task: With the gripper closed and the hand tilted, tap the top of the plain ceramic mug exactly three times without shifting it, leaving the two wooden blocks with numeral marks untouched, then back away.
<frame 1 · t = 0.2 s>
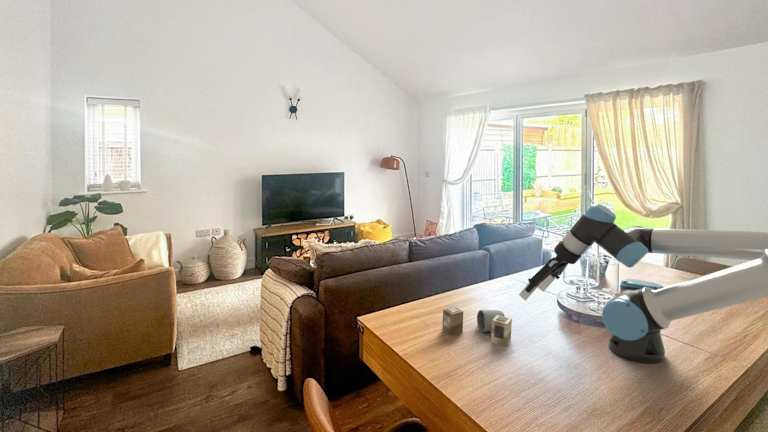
hand: (531, 293, 134), 16 cm above the table, tool tilted 35°, fingers open, 13 cm apart
walnut numeral block: (452, 331, 140), on the table
ceramic mug: (488, 329, 143), on the table
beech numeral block: (500, 341, 133), on the table
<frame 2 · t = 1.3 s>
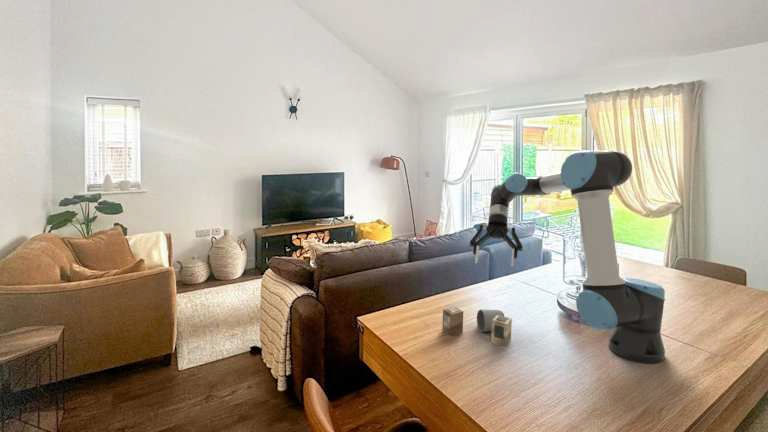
hand: (493, 263, 153), 20 cm above the table, tool tilted 45°, fingers open, 13 cm apart
nothing on the table moved.
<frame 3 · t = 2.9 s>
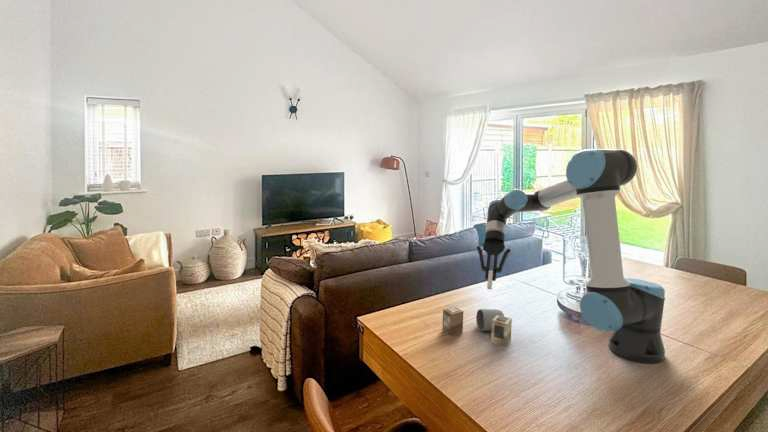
hand: (489, 287, 146), 14 cm above the table, tool tilted 45°, fingers closed
nothing on the table moved.
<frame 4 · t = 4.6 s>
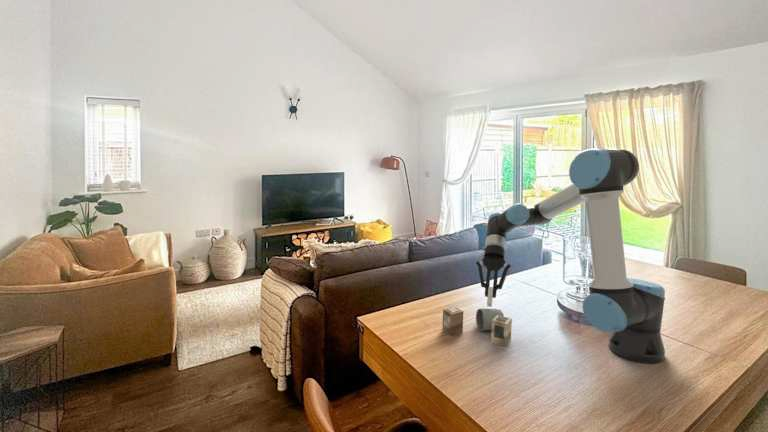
hand: (489, 305, 142), 9 cm above the table, tool tilted 45°, fingers closed
ceramic mug: (487, 327, 144), on the table, touching gripper
everything else where it was.
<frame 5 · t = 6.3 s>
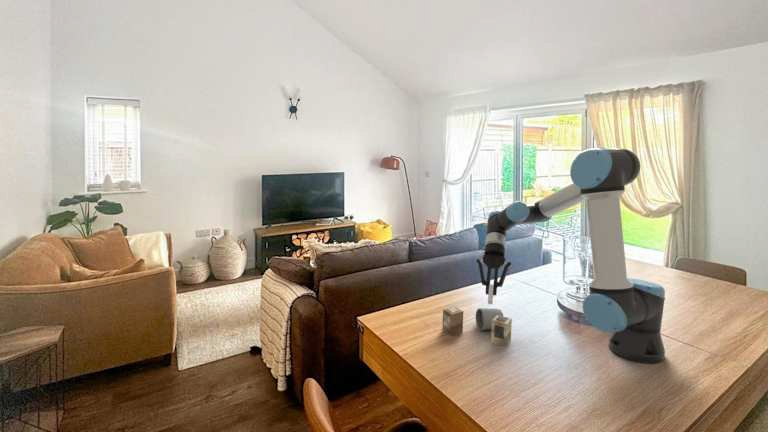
hand: (490, 302, 141), 10 cm above the table, tool tilted 45°, fingers closed
ceramic mug: (486, 327, 144), on the table
everything else where it was.
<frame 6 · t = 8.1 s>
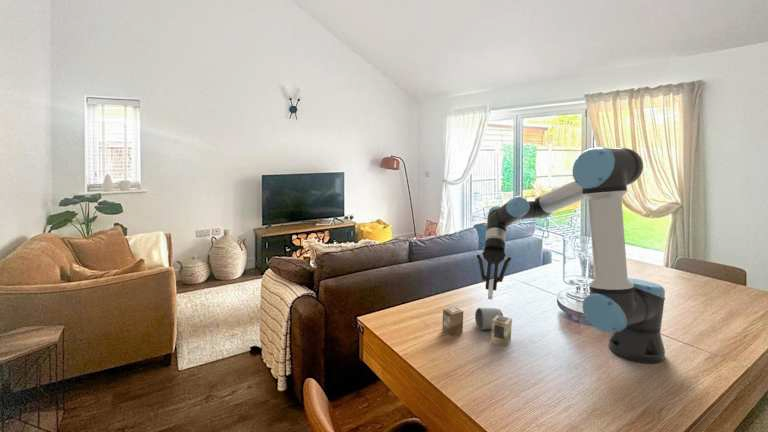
hand: (490, 297, 141), 12 cm above the table, tool tilted 45°, fingers closed
nothing on the table moved.
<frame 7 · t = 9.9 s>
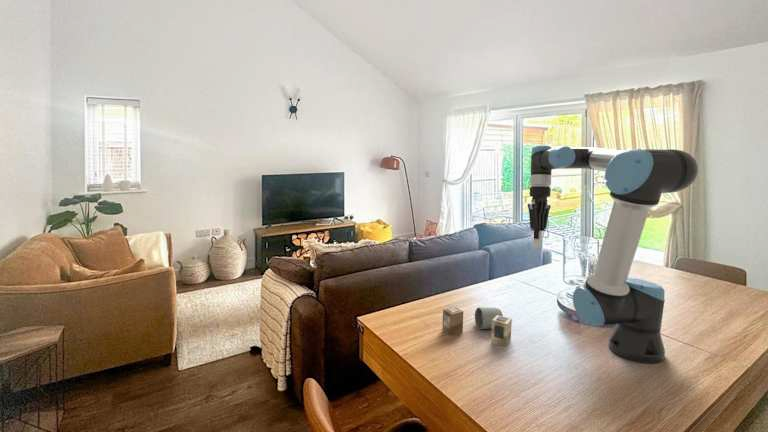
hand: (537, 247, 153), 26 cm above the table, tool pointing down, fingers closed
nothing on the table moved.
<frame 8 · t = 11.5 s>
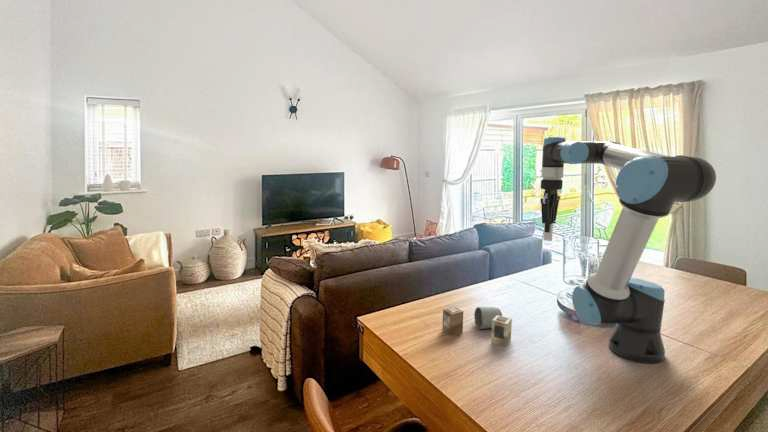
hand: (547, 240, 152), 29 cm above the table, tool pointing down, fingers closed
at the end: ceramic mug moved 2.8 cm from its start; ceramic mug tilted 0°; ceramic mug touching table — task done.
